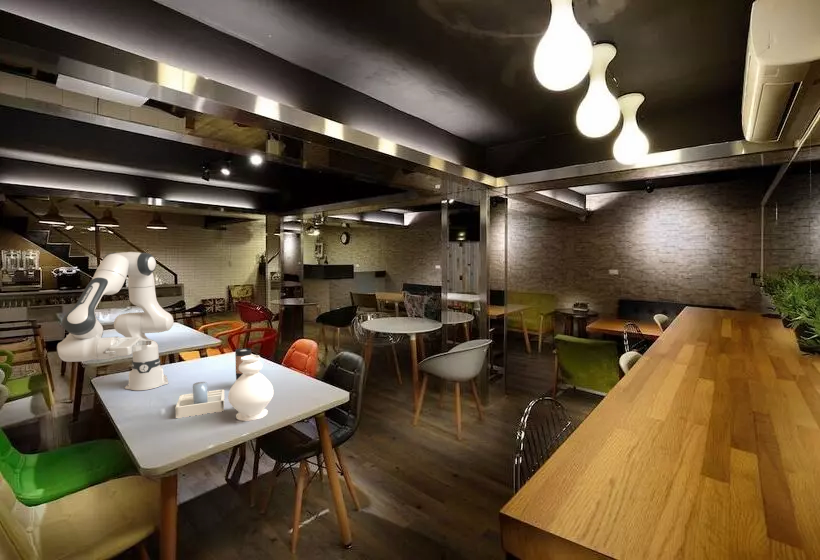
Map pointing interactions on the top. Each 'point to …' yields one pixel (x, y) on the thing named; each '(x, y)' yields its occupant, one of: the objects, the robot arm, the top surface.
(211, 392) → the compartment tray
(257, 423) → the top surface
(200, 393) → the grey cylinder
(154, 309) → the robot arm
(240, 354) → the travel mug
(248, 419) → the decorative vase
